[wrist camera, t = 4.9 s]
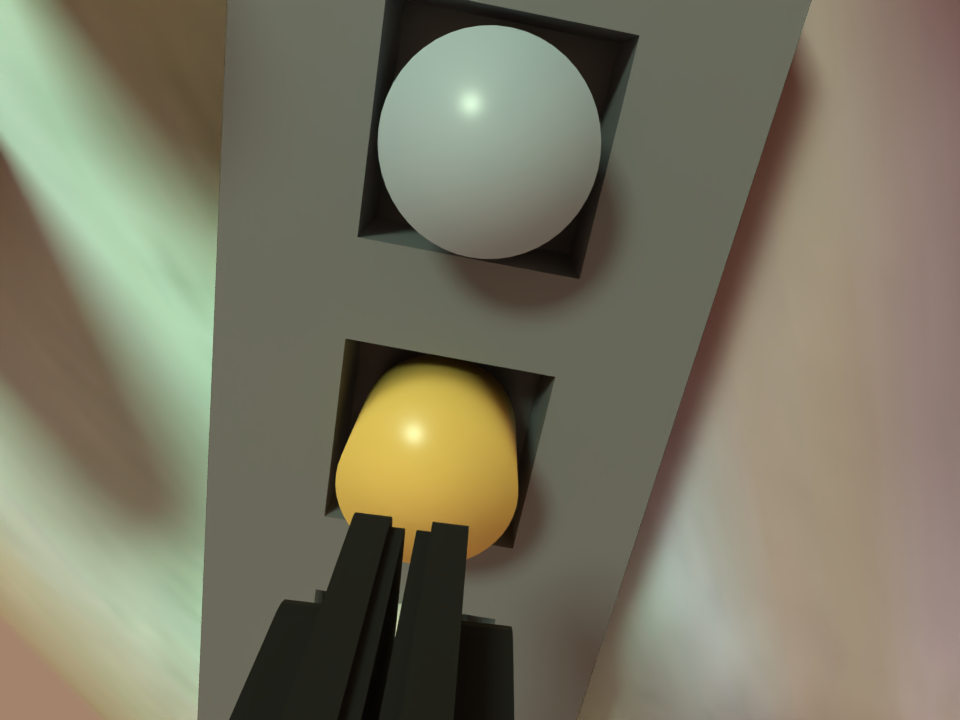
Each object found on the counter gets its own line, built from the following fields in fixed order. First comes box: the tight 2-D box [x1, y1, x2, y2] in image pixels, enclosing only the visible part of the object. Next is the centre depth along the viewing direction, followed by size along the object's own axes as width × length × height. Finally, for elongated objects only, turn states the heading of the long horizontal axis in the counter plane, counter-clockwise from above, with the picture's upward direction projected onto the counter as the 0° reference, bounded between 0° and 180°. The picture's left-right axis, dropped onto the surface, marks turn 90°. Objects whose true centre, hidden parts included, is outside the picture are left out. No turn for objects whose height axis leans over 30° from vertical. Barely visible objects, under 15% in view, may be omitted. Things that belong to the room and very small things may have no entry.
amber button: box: [335, 355, 518, 563], centre depth 18 cm, size 4×4×3 cm
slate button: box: [378, 25, 601, 259], centre depth 15 cm, size 4×4×3 cm
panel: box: [198, 0, 812, 720], centre depth 20 cm, size 12×26×3 cm, turn 170°
